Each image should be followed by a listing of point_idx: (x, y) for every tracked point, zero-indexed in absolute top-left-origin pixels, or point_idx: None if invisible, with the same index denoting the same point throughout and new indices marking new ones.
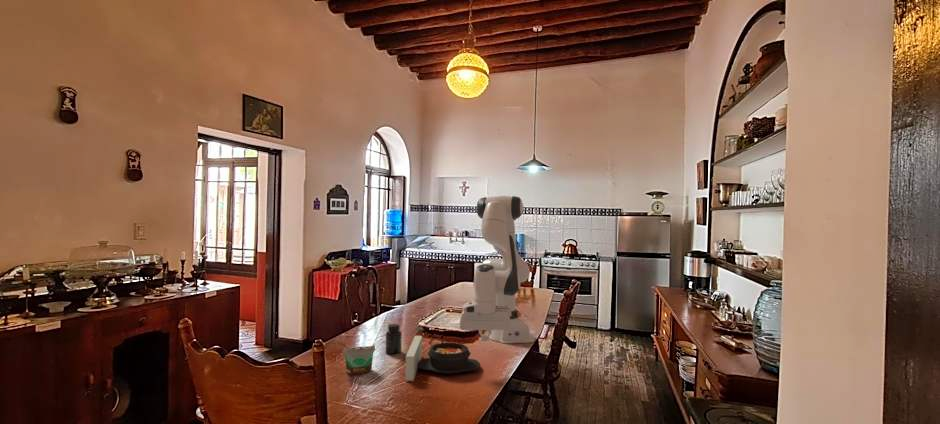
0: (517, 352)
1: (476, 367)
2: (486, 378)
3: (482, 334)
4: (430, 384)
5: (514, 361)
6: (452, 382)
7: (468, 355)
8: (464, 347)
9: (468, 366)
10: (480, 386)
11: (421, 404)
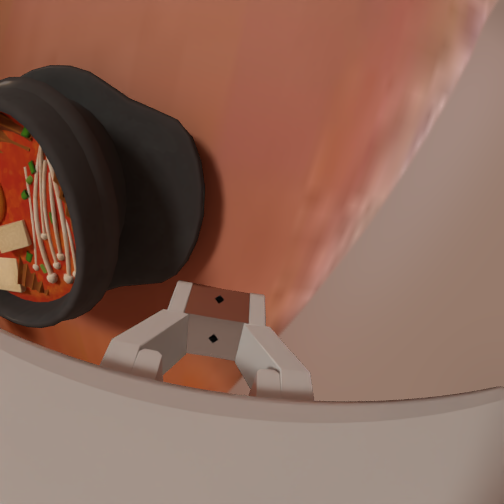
0: (473, 14)
1: (174, 262)
2: None
3: (178, 326)
4: None
5: (431, 122)
6: (89, 320)
7: (107, 277)
8: (64, 184)
9: (132, 242)
10: (186, 363)
11: None
